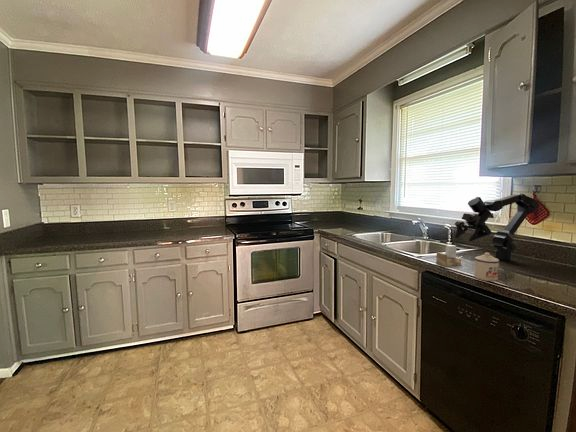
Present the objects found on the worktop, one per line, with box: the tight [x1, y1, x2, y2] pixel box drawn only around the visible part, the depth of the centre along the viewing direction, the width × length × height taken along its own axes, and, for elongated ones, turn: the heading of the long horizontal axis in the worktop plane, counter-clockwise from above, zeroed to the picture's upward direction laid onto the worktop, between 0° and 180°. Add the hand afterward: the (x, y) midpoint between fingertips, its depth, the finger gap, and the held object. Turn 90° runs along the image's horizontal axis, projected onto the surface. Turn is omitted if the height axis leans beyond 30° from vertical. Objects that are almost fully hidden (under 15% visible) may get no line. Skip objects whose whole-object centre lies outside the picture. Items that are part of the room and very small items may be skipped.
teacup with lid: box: [473, 252, 500, 282], centre depth 126 cm, size 12×9×12 cm
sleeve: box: [435, 251, 462, 267], centre depth 150 cm, size 10×6×6 cm, turn 103°
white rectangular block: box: [444, 244, 457, 259], centre depth 150 cm, size 4×3×10 cm
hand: (462, 239), depth 150 cm, fingers open, 9 cm apart
